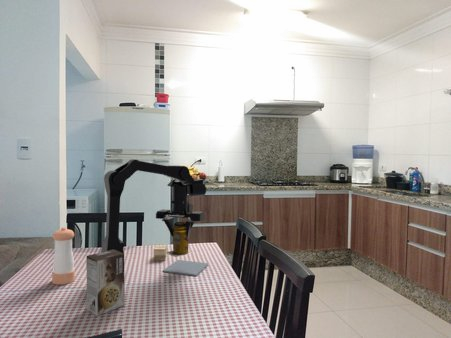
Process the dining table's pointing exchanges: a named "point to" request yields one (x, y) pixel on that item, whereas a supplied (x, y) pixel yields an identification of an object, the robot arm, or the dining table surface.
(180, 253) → the condiment
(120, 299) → the cookie box
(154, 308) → the dining table surface
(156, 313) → the dining table surface
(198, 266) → the plate
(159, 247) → the beech cube
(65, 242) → the pepper shaker
